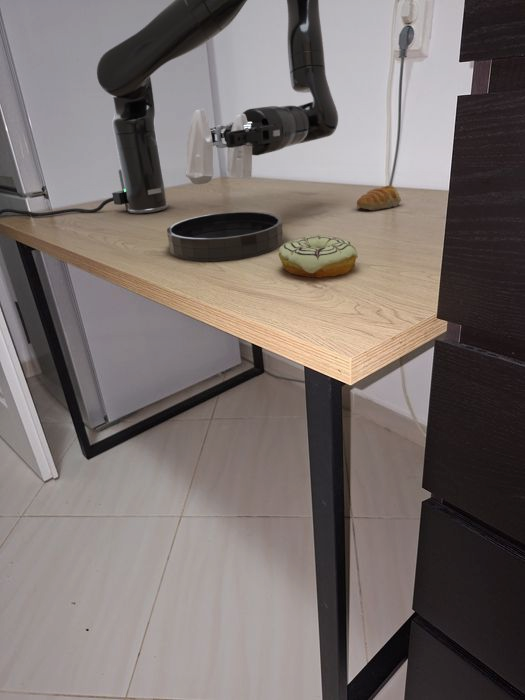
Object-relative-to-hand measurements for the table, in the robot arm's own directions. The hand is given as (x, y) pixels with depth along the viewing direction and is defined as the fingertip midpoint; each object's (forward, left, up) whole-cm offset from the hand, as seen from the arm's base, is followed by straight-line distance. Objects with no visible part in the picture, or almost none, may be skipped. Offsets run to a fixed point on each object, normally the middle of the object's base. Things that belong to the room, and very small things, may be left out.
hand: (208, 140), depth 77 cm
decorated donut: (+21, -5, -17) cm, 28 cm away
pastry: (+13, +36, -17) cm, 42 cm away
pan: (0, +1, -17) cm, 17 cm away
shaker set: (0, +2, -7) cm, 7 cm away
